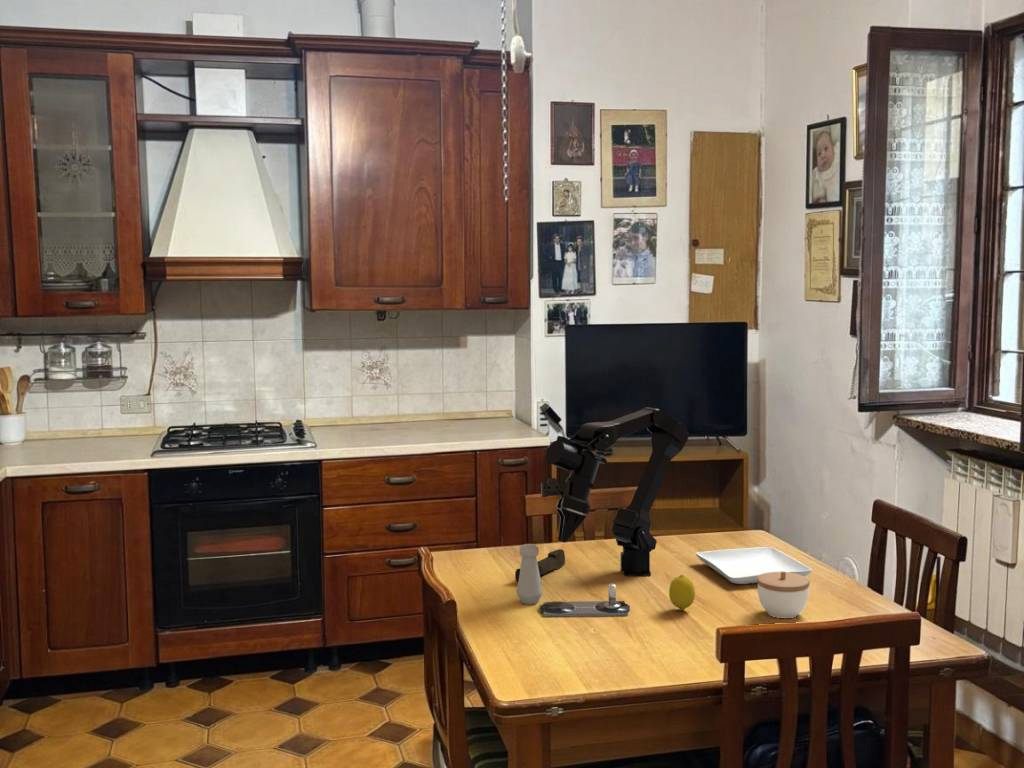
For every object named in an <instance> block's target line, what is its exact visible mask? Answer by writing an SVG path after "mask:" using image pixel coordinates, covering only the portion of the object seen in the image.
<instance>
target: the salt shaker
mask: <svg viewBox="0 0 1024 768" xmlns="http://www.w3.org/2000/svg"><path fill="white" fill-rule="evenodd" d="M539 551H540V548H539V546H538V545H536V544H534V543H524V544H522V545H520V547H519V556H520V557H521V561H520V568H519V569H520V575H519V581H518V583H517V588H516V596H517V597H518V598H519V600H520V602H521V604H524V605H529V606H532V605H537V604H538V603H539V602H540V599H541V598H542V595H543V586H542V580H541V576H540V574H539V569H538V564H537V562H538V560H537V556H538V555H539V553H540V552H539Z"/></svg>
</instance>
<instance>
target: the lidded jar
mask: <svg viewBox="0 0 1024 768" xmlns="http://www.w3.org/2000/svg"><path fill="white" fill-rule="evenodd" d="M756 584H757V595H758V600H759V602H760V605H761V607H762V608H763V609H764V611H766V612H767V615H768V614H769V615H768V616H770V615H771V616H774V617H777V618H776V619H779V618H792V619H795V618H797V617H798V615H800V614H801V612H802V611H803V610H804V609H805V607H806V605H807V604H808V603H807V602H808V599H809V592H810V591H809V589H810V588H809V587H810V580H809V579H808V578H807V577H806V576H802V575H799V574H795V573H789V572H785V571H781V572H769V573H764V574H761V575H759V576H758V578H757V583H756ZM771 616H770V617H771ZM796 616H797V617H796ZM774 617H773V618H774ZM794 617H795V618H794Z"/></svg>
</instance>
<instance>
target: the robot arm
mask: <svg viewBox="0 0 1024 768" xmlns="http://www.w3.org/2000/svg"><path fill="white" fill-rule="evenodd" d="M644 429H645V430H647V431H648V432H649V433H650V434H651V438H650V442H651V443H650V444H651V450H652V452H651V454H650V456H649V459H648V461H647V463H646V466H645V469H644V470H643V473H642V475H641V478H640V480H639V482H638V485H637V488H636V489H635V493H634V495H633V497H632V500H631V502H630V504H629V505H628V506H627V507H625V508H624V507H619V508H618V510H617V512H616V515H615V518H614V519H613V521H612V523H613V524H612V525H613V526H612V531H611V532H613V537H614V538H615V541H616V544H617V546H620V547H622V551H621V552H620V557H619V558H620V560H619V561H620V571H621V572H622V574H623V576H625V577H626V576H629V577H631V576H634V577H635V576H636V577H637V576H651V575H652V572H651V569H650V568H651V565H650V564H651V563H650V562H651V561H650V560H651V559H650V558H651V553H650V552H652V551H654V550H655V549H656V547H657V539H656V538H655V537H654V536H653V535H652V534H651V533H650V528H651V525H652V523H651V516H650V512H651V509H652V506H653V504H654V502H655V499H656V497H657V494H658V492H659V490H660V488H661V485H662V482H663V480H664V478H665V475H666V473H667V470H668V468H669V465H670V464H671V461H672V460H673V459H674V458H675V457H676V456H677V455H679V453H680V452H682V451H683V449H684V447H685V445H686V443H687V442H688V440H689V437H690V436H689V435H690V434H689V431H688V428H687V426H686V425H685V424H684V423H681V422H679V421H677V420H675V419H674V418H673V417H670V416H668V415H667V414H665V413H664V411H662V410H660V409H659V408H653V407H643V408H641V409H639V410H638V411H635V412H632V413H628V414H626V415H623V416H621V417H618V418H615V419H613V420H609V421H602V422H601V421H595V422H586V423H584V424H582V425H581V426H580V429H579V430H578V431H577V432H576V433H574V434H573V435H572V436H571V437H570V438H568V437H566V436H563V435H562V436H561V435H558V436H557V437H556V440H554V441H553V442H551V443H550V445H549V446H548V447H547V448H546V453H545V459H546V462H547V463H548V464H549V465H552V466H554V467H557V468H560V469H562V470H565V471H568V472H570V473H569V476H568V477H566V479H565V481H564V482H563V481H562V482H561V481H559V482H558V479H557V478H556V477H550V478H548V480H547V482H542V483H540V494H541V495H540V496H541V498H547V497H554V496H555V497H558V496H559V497H560V498H559V499H557V503H556V507H555V508H556V512H557V514H558V516H559V518H560V519H559V528H558V537H557V540H558V542H561V543H562V542H563V543H567V541H568V540H569V539H570V538H571V537H572V535H574V532H576V530H577V529H578V528H579V526H581V524H582V522H583V521H584V520H585V519H586V518H587V516H588V515H589V514H590V513H589V512H590V509H591V504H590V503H589V497H590V495H591V492H592V489H593V487H594V485H595V484H594V482H595V478H596V475H597V472H598V468H599V465H600V464H605V465H606V464H608V460H607V458H606V457H605V455H604V452H603V451H606V450H608V449H609V448H610V447H613V446H614V445H616V442H617V441H618V440H619V439H621V438H624V437H626V436H629V435H631V434H635V433H636V432H639V431H641V430H644Z"/></svg>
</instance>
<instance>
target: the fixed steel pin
mask: <svg viewBox="0 0 1024 768" xmlns="http://www.w3.org/2000/svg"><path fill="white" fill-rule="evenodd" d="M608 601H609V602H606V603H604V608H606V609H609V610H616V609H619V608H621V604H620V603H618V602H616V601H617V585H616V584H615V583H609V584H608Z"/></svg>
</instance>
